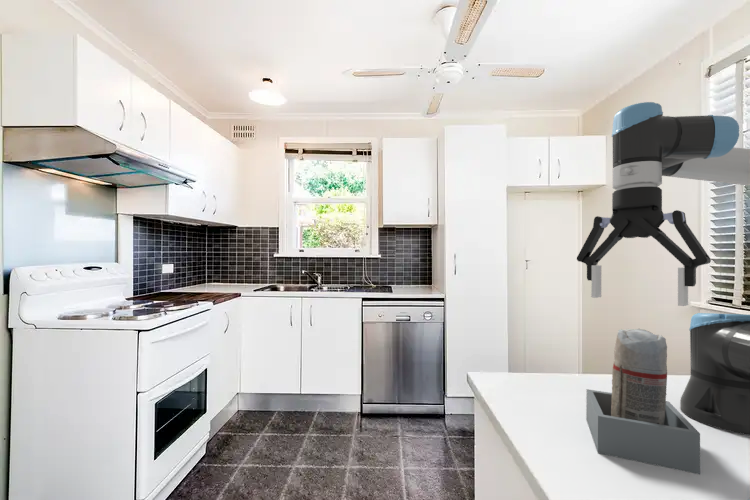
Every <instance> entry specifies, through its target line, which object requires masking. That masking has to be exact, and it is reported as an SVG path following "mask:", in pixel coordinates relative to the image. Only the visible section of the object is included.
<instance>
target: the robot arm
mask: <svg viewBox="0 0 750 500" xmlns="http://www.w3.org/2000/svg"><path fill="white" fill-rule="evenodd" d="M611 137H612V189H614V190H615V191H613V192H612V199H611V200H612V201H611V202H612V207H611V209H612V214H611V216H610V217H604V216H603V217H602V216H598V215H597V216H595V217H594V219H593V225H592V228H591V231H590V232H589V234H588V236H587V237H586V239H585V242H584V244H583V246H582V247H581V250H580V251H579V252H578V255H577V256H576V260H577V262H581V263H583V264H585V265H586V280H587V281H589V282H590V281H591V292H590V293H591V294H590V295H591V296H590V297H591V298H594V299H595V298H596V299H597V298H601V297H602V265H600V264H598V263H599V262H600V261H601V260H602V259H603V258H604V257H605V256H606V255H607V254H608V253H609V251H610V250H612V249H613V247H614V246H615V245H616V244H617V243H618V242H620V241H621V240H622V239H623V238H625V239H634V238H635V239H636V238H644V239H646V238H647V239H648V238H649V237H652V238H653V239H655V240H656V241H657V242H658V243H659V244H660V245H661V246H662V247H664V249H666V250H667V252H669V253H670V254H671V255H672V256H673V257H674V258H675V259H676V260H677V261H679V263H680V264H681V265H683V267H677V306H679V307H686V306H689V287H695V286H696V284H697V268H698V267H700V266H703V265H708V264H710V263H711V261H712V259H711V257H710V256H709V255H708V254H707V251H706V250H705V248H704V246H703V245H702V244H701V243H700V241H699V240H698V238H697V237H696V235H695V234H694V233H693V231H692V229H691V228H690V227H689V226H688V224H687V217H686V213H685V212H684V211H681V210H677V209H676V210H674V211H671V212H667V213H666V212H665V213H664V212H663V190H662V188H661V187H659V186H661V185H662V184H663V177H671V178H678V179H685V180H686V179H689V180H697V181H704V182H705V181H706V182H714V183H715V182H716V183H723V184H731V185H740V186H747V187H748V186H749V187H750V148H745V147H736V145H737V143H738V141H739V138H740V125H739V122H738V121H737V120H736V119H735V118H734V117H731V116H729V115H713V114H708V115H686V116H681V115H680V116H670V115H664V112H663V107H662V105H661V104H660V103H657V102H653V101H643V102H638V103H634V104H631V105H628V106H625V107H623V108H621V109H620V110H618V111H617V112H616V113H615V114H614V116H613V122H612V132H611ZM666 220H667V221H668V223H669V224H671V225H673V226H674V227H675V229H676V231H677V232H678V234H679V235H680V236H681V239H682V240H683V241H684V243H685V245H686V246H687V248H688V249H689V250H690V252H691V253H692V255H693V256H694V258H692V257H691V256H690V255H689V254H688V253H687V252H685V251H684V250H683V249H682V248H681V247H680V246H679V245H678V244H676V243H675V242H674V241H673V240H672V239H671V238H670V237H669V236H668V235H667V234H666V232H664V231H663V230H662V229H660V227H661V226H662V224H663V223H664V222H665V221H666ZM609 224H611V225H610V226H612V227H613V228H614V229H613V230H612V231H611V232H610V233H609V234H608V236H607V237H606V238H605V240H604V241H602V243H601V244H600V245H599V246H598V247H597V248H596V246H597V244H598V242H599V240H600V238H601V236H602V235H603V233H604V231H605V229H606V228H607V227H608V225H609ZM595 248H596V249H595ZM594 249H595V250H594ZM592 252H593V253H592ZM688 330H689V343H690V345H689V346H690V347H689V349H690V351H689V352H690V376H689V379H688V382H687V384H686V386H685V388H684V391H683V392H682V395H681V396H680V402H679V405H680V407H679V409H680V411H681V412H682V413H683V414H684V415H686V416H687V417H689V418H691V419H693V420H695V421H697V422H700V423H702V424H704V425H707V426H711V427H712V428H713V427H714V428H717V429H721V430H723V431H728V432H732V433H735V434H740V435H747V436H750V314H744V313H743V314H741V313H740V314H739V313H711V312H709V313H708V312H707V313H706V312H698V313H695V314H693V315H692V316H691V318H690V327H689V329H688Z"/></svg>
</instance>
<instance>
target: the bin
mask: <svg viewBox="0 0 750 500" xmlns="http://www.w3.org/2000/svg"><path fill="white" fill-rule="evenodd" d="M585 402H586V409H585V410H586V416H585V417H586V422H587V425H588V428H589V431H590V434H591V437H592V440H593V443H594V447H595V449H596V452H597V454H602V455H607V456H610V457H615V458H620V459H626V460H629V461H634V462H640V463H642V464H643V463H644V464H648V465H653V466H658V467H663V468H666V469H673V470H678V471H682V472H687V473H692V474H697V475H701V432H699V431H698V430H697V428H696V427H694V426H693V424H692V423H690V422H689V420H688V419H686V417H685V416H684V415H683V414H681V412H680V411H679V410H678V409H677V408H676V407H675V406H674V405H673V404H672V403H671V402H670V401H668V400H666V404H665V419H664V425H661V424H655V423H649V422H643V421H637V420H631V419H625V418H620V417H614V416H611V405H612V392H608V391H601V390H594V389H586V401H585Z"/></svg>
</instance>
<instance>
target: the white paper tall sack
mask: <svg viewBox="0 0 750 500" xmlns="http://www.w3.org/2000/svg"><path fill="white" fill-rule="evenodd" d="M614 344H615V345H614V350H613V351H614V353H613V354H614V359H613V365H612V375H611V376H612V378H611V385H612V386H611V393H612V405H611V416H614V417H620V418H625V419H631V420H637V421H643V422H649V423H655V424H661V425H664V419H665V404H666V401H667V384H668V383H667V382H668V366H667V365H668V364H667V361H668V360H667V359H668V358H667V357H668V345H667V344H668V343H667V339H666V338H665V336H663V335H662V334H661V335H660V334H655V333H653V332H651V331H650V330H646V329H641V328H635V329H629V328H626V329H622V328H621V329H618V330H617V334H616V340H615V343H614Z"/></svg>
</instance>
